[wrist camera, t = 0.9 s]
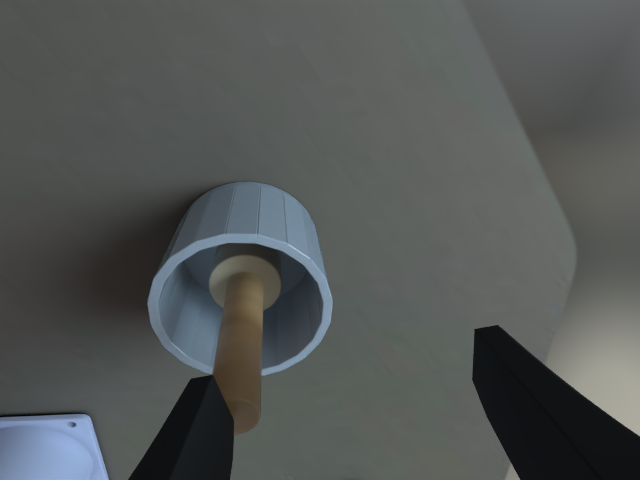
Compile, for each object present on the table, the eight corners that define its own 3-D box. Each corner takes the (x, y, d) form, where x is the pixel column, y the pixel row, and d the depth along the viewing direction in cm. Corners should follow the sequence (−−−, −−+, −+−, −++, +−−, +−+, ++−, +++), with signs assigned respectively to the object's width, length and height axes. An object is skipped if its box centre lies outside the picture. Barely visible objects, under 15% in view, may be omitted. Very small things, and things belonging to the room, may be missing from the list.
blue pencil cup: (184, 302, 22) (159, 380, 17) (170, 178, 18) (134, 232, 14) (313, 301, 23) (324, 375, 18) (323, 183, 19) (340, 235, 14)
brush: (218, 278, 20) (181, 455, 12) (215, 223, 19) (170, 381, 10) (279, 278, 21) (285, 449, 12) (281, 224, 19) (289, 377, 11)
